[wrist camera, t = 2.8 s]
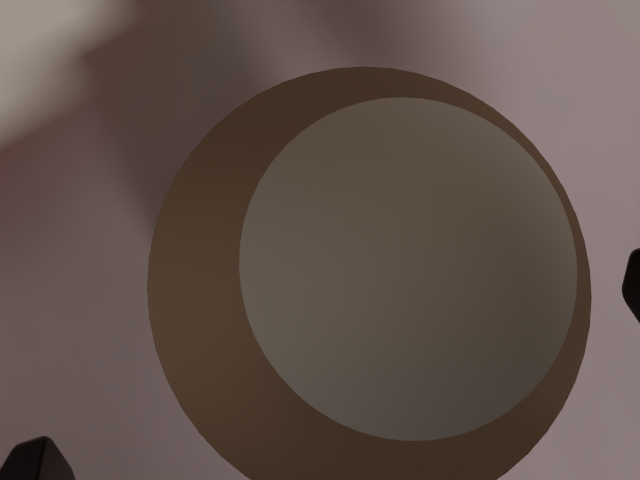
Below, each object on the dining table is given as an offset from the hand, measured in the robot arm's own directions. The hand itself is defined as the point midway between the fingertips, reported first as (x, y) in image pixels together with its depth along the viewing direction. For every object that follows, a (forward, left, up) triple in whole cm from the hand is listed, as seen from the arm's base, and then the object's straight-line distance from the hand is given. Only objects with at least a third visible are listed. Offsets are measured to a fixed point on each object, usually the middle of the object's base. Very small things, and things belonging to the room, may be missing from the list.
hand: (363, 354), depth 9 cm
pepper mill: (+1, +1, -9) cm, 9 cm away
